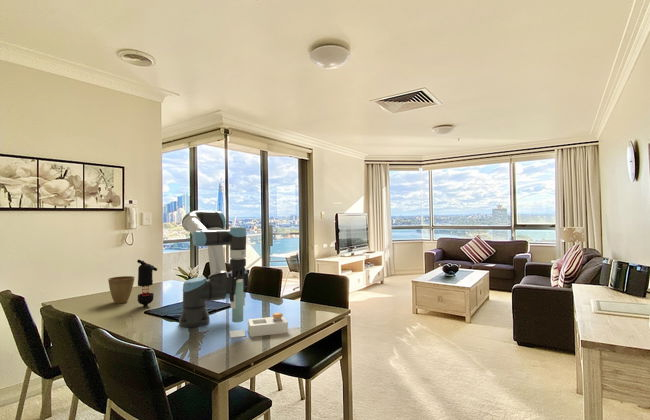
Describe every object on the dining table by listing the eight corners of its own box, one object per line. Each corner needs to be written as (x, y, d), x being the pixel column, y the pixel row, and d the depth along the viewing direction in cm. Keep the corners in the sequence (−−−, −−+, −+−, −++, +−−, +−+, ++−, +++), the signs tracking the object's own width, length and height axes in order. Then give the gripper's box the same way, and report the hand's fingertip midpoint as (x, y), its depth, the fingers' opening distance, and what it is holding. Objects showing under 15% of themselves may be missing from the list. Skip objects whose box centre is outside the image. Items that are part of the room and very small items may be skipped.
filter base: (250, 336, 156) (250, 326, 157) (247, 329, 167) (247, 319, 167) (287, 332, 162) (287, 322, 162) (283, 325, 173) (283, 315, 173)
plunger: (273, 324, 163) (273, 316, 163) (271, 321, 168) (271, 313, 168) (283, 323, 165) (283, 315, 165) (281, 320, 169) (281, 312, 169)
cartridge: (229, 321, 159) (230, 279, 159) (237, 318, 163) (238, 277, 164) (237, 323, 156) (237, 280, 157) (245, 320, 161) (245, 278, 161)
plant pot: (125, 305, 211) (125, 280, 212) (102, 305, 212) (102, 279, 212) (139, 299, 226) (139, 275, 227) (117, 299, 226) (117, 275, 227)
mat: (230, 338, 154) (230, 337, 154) (229, 331, 163) (229, 331, 163) (245, 336, 157) (245, 335, 157) (244, 330, 165) (244, 329, 165)
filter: (142, 309, 201) (142, 260, 202) (132, 307, 205) (133, 259, 206) (161, 304, 214) (162, 257, 214) (152, 302, 218) (152, 256, 218)
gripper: (229, 261, 151) (228, 312, 150) (256, 256, 166) (256, 303, 166) (217, 259, 155) (217, 310, 154) (245, 256, 170) (245, 301, 170)
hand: (237, 306), depth 160 cm, fingers closed on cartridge, 5 cm apart
